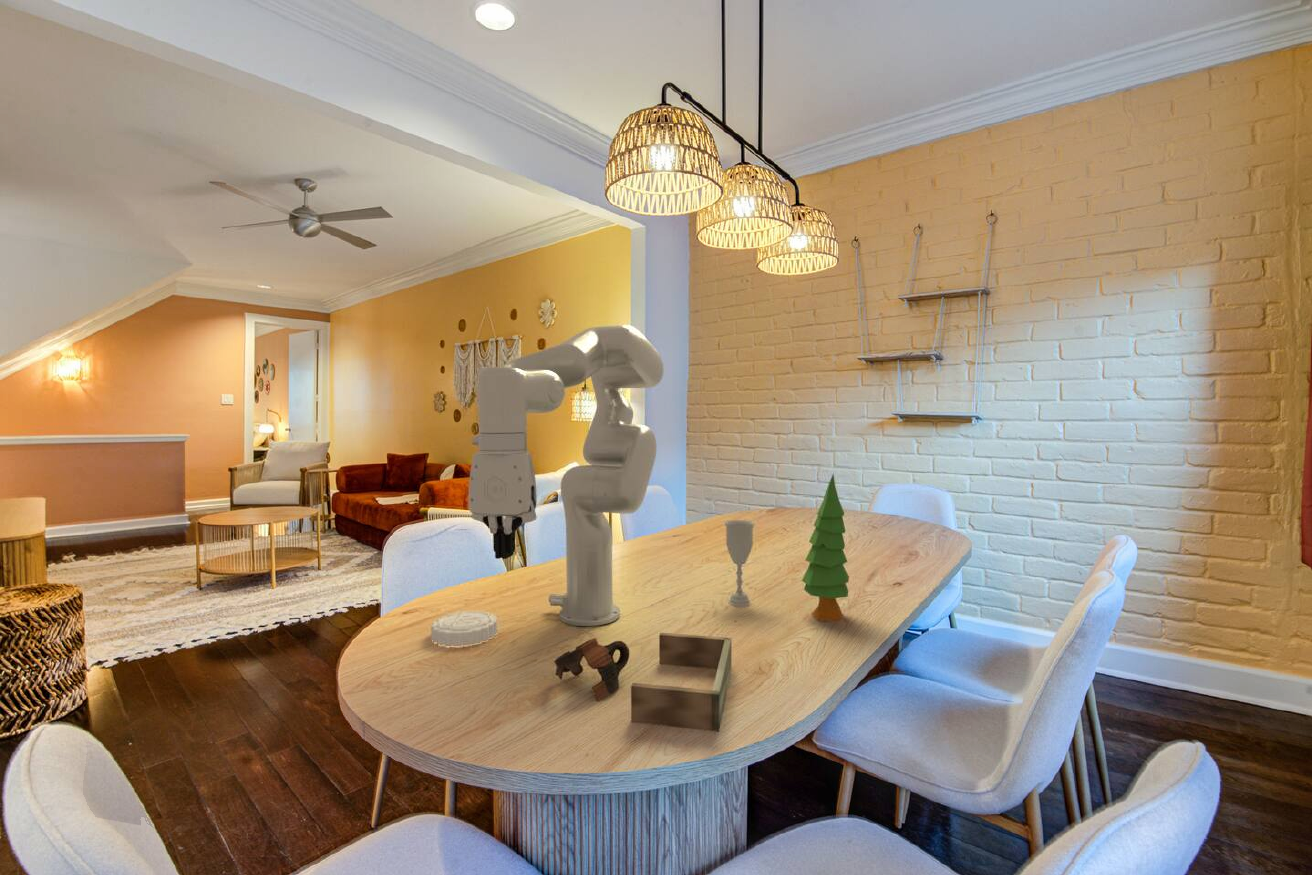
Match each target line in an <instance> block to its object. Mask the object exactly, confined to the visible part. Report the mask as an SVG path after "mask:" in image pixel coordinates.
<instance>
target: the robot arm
mask: <svg viewBox="0 0 1312 875" xmlns="http://www.w3.org/2000/svg"><path fill="white" fill-rule="evenodd" d="M663 376H664V364H663V360H662V358H661V355H660V353H659V352H658V350H657V349H656V348H655V347H654V346H653V345H652V343H651V342H650V341H649V340H648V339H647V337H646V336H645V335H644V334H642V332H640V331H639V330H638V329H636V328H635V327H633V326H631V325H627V324H620V325H619V324H617V325H607V326H606V325H603V326H594V327H588V328H585V329H583V330H581V331H580V332H578V333H577V334H574V335H573V336H572V337H570V338H568V339H567V340H565V341H563V342H562V343H560V344H557V345H554V346H552V347H551V346H550V347H548V348H544V349H542V350H540V351H537V352H534V353H530V354H527V355H524V356H520V357H518V358H516V359H513V360H510V361H508V362H507V363H504V364H502V365H501V366H489V367H485V368H482V369H481V370H479V373H478V376H477V378H478V379H477V399H478V400H477V403H478V404H477V405H478V408H477V409H478V410H477V411H478V412H477V413H478V414H477V415H478V433H477V436H473V437H472V439H471V444H472V445H473V446H477V449H478V452H474V453H473V456H472V461H471V466H470V467H471V468H470V474H469V483H468V509H469V511H470V512H471V518H472V520H474V521H478V522H480V523H483V524H485V526H487V527H488V529H489V532H490V534H492V536H493V538H492V539H493V541H492V544H493V552H494V557H495V559H502V560H507V559H508V558H510V557H512V556H514V554H515V551H516V532H517V531H518V530H519V528H520V527H521V526H522V525H524V524H526V523H531V522H533V521H536V520H537V518H538V517H537V513H536V508H537V501H538V500H537V499H538V498H537V483H536V474H535V468H534V466H535V465H534V462H533V461H534V460H533V456H532V454H531V452H528V432H527V431H528V430H527V429H528V428H527V427H528V425H527V416H528V415H527V414H545V413H550V412H553V411H555V410H556V409H558V408H559V407H560V406H561V405H562V403H563V402H564V399H565V395H566V392H565V390H566V389H568V388H571V387H576V386H578V385H581V384H582V383H584V382H585V381H587V380H588V379H589V378H590V379H591V383H592V388H593V392H594V395H595V400H596V410H595V413H594V416H593V419H592V421H591V424H590V426H589V429H588V431H587V434H586V437H585V439H584V443H583V447H582V456H583V458H584V460H585V462H586V463H588V464H589V465H588V464H585V465H584V464H583V465H577V466H573V467H571V468H569V469H568V470H567V471H565V473H564V474H563V475H562V478H561V480H560V494H561V500H562V505H563V511H564V516H565V517H564V519H565V535H566V537H565V538H566V539H565V541H566V552H565V553H566V555H565V558H566V559H565V560H566V592H565V593H563V594H559V593H550V594H549V597H548V602H549V605H550V606H551V607H552V606H553V607H560V608H561V609H560V610H559V614H558V615H559V620H561V622H562V623H564V622H565V624H567V625H571V626H577V627H594V626H595V627H596V626H603V625H606V624H610V623H612V622H614V621H617V620H618V619H619V618H620V616H621V609H620V608H619V606H618V605H616V604H614V603H613V602H614V601H613V532H612V528H611V524H610V523H609V521H608V519H607V517H606V515H605V513H607V514H608V513H609V514H622V515H626V514H627V515H628V514H629V515H630V514H633V513H635V512H637V511H638V510H639V509H641V508H640V507H641V506H642V504H643V502H644V499H645V497H646V492H647V489H648V486H649V482H650V479H651V475H652V473H653V472H652V471H653V468H654V465H655V461H656V458H657V438H656V435H655V433H654V431H653V430H652V429H651V428H650V427H649V426H647V425H644V424H637V423H636V424H635V423H633V420H634V411H633V408H632V406H631V404H630V402H629V400H628V399H627V398H626V397H625V396H624V395H623V393H622V392H621V389H644V388H645V389H649V388H654V387H656V386H657V385H659V383H661V380H662V379H663ZM632 423H633V424H632ZM504 517H505V519H504Z"/></svg>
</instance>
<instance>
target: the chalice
mask: <svg viewBox="0 0 1312 875" xmlns="http://www.w3.org/2000/svg"><path fill="white" fill-rule="evenodd" d="M723 523H724V526H725V530H726V540H725V541H726V548H727V550H728V554H729V556H730V559H731V561H732V563H733V564H735V565H736V569H737V570H736V573H735V574H736V580H735V583H736V585H737V587H736V589H735V591H733V592H732V593H731V594H730V597H729V600H728V602H727V604H729V606H731V607H738V608H739V607H740V608H743V607H744V608H746V607H749V606H751V604H752V603H751V601H750V598H749V597H748V593H747V592H746V591H744V590H743V588H742V585H743V583H744V581H743V578H742V575H743V570H742V567H743V565H745V564H746V563H747V561H748V559H749V556H750V554H751V552H752V548H753V545H754V544H753V543H754V541H753V540H754V538H753V536H754V534H753V530H754V527H755V524H756V522H754V521H750V520H742V519H735V520H725V521H724V522H723Z"/></svg>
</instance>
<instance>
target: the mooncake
mask: <svg viewBox="0 0 1312 875" xmlns="http://www.w3.org/2000/svg"><path fill="white" fill-rule="evenodd" d="M430 631H431V632H430V633H431V634H430V636H431V638H430V639H432V640H433V642H437V643H438V644H440V645H443V644H444V645H445V646H452V645H453V646H461V645H470V644H475V643H480V642H481V641H487V640H489V638H492V637H494V638H495V636H494V635H495V634H496V633H497V634H498V618H497V616H495V614H493V613H490V612H488V611H480V610H479V611H477V610H462V611H458V612H457V611H456V612H455V613H450V614H444V615H443V616H442V617H438V618H437V619H436V620H435V621H433V622H432V623H431V627H430ZM489 641H490V640H489ZM433 642H432V643H433Z"/></svg>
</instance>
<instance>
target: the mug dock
mask: <svg viewBox="0 0 1312 875" xmlns="http://www.w3.org/2000/svg"><path fill="white" fill-rule="evenodd" d="M658 638H659V639H658V640H659V646H658V648H659V650H658V651H659V657H658V658H659V659H658V660H659V662H658V663H659V665H667V666H676V667H677V666H678V667H689V668H701V669H709V670H710V669H711V670H716V675H715V677H714V682H713V686H712V689H705V688H704V689H702V688H701V689H700V688H691V687H681V686H672V685H671V686H670V685H660V684H649V683H641V682H640V683H638V682H632V684H631V686H630V706H631V707H630V709H631V710H630V712H631V713H630V716H631V717H630V718H631V719H630V721H631V723H636V724H637V723H638V724H646V725H647V724H648V725H655V726H663V727H664V726H665V727H673V728H683V729H693V730H699V731H700V730H701V731H702V730H703V731H711V732H720V728H721V724H722V719H723V713H724V709H725V703H726V698H727V692H728V688H729V687H728V686H729V682H730V677H731V671H732V637H723V636H722V637H721V636H710V635H709V636H707V635H696V634H683V633H681V634H680V633H670V632H669V633H668V632H660V633H659V637H658Z"/></svg>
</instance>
